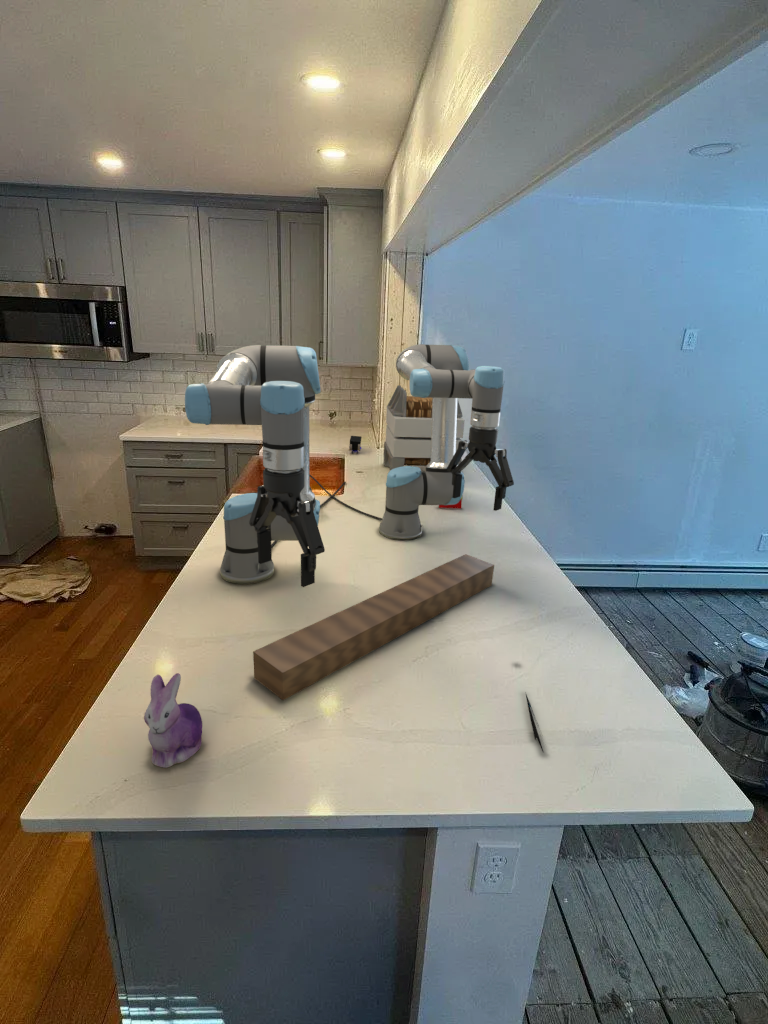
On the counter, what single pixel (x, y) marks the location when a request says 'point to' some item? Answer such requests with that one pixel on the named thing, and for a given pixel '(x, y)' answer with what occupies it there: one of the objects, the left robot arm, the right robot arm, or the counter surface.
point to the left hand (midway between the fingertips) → (285, 572)
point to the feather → (534, 723)
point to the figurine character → (355, 444)
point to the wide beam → (366, 626)
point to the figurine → (171, 724)
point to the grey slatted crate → (411, 430)
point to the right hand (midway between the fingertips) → (476, 503)
